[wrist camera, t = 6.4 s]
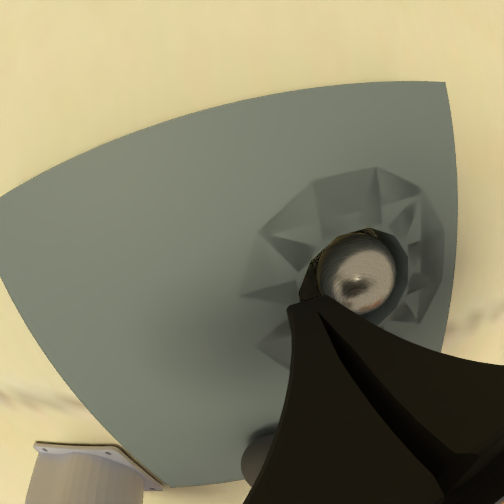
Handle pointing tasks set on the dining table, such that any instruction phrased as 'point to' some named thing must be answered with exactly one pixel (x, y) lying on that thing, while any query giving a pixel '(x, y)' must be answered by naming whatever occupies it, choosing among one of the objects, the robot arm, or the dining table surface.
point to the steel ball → (357, 272)
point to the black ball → (255, 457)
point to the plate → (226, 257)
